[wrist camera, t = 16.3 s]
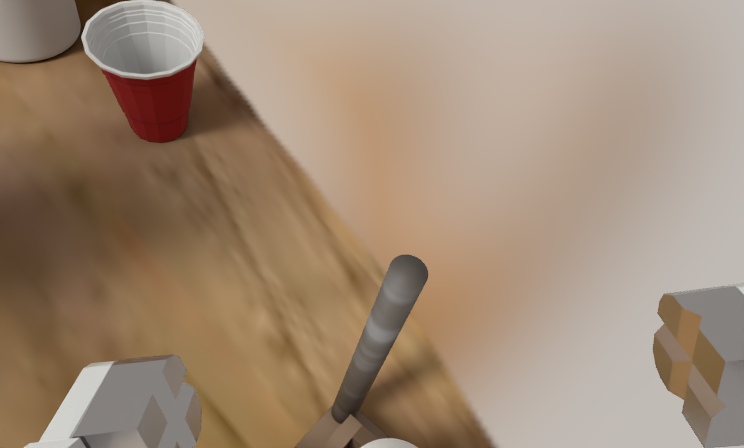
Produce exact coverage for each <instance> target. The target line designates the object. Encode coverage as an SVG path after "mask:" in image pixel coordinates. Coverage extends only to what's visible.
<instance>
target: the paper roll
mask: <svg viewBox="0 0 744 448" xmlns="http://www.w3.org/2000/svg"><path fill="white" fill-rule="evenodd" d="M361 448H418V447H417V446H415V445H413V444H411V443H409V442H407V441H403V440H400V439H394V438H384V439H378V440H374V441H372V442H369V443H367V444H365V445H364V446H362V447H361Z"/></svg>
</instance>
